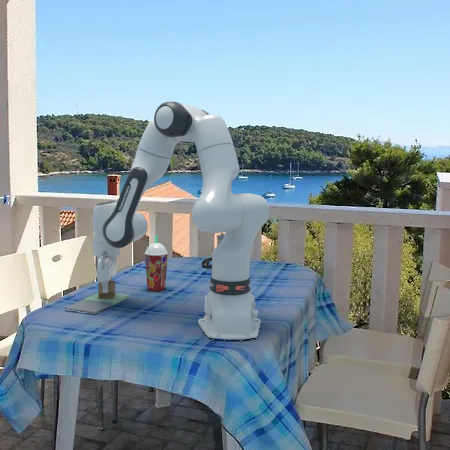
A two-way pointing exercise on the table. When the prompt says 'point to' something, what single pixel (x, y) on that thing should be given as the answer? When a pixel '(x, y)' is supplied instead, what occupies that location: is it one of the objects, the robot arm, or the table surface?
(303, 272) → the table surface
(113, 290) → the walnut block
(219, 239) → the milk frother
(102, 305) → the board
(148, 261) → the smoothie
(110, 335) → the table surface
